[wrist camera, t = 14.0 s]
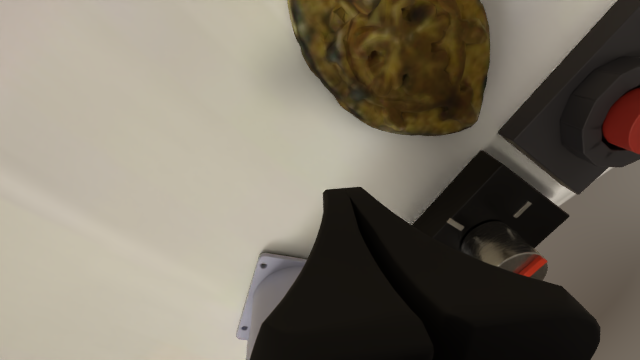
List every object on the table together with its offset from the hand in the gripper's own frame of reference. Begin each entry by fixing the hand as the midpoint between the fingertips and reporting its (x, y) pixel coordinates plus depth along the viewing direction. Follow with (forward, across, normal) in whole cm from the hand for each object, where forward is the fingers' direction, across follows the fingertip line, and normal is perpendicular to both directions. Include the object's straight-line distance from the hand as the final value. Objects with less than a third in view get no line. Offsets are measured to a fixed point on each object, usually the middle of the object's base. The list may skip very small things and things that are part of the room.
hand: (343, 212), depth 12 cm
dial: (+8, -12, +9) cm, 17 cm away
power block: (+10, -19, 0) cm, 22 cm away
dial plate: (+10, -12, +9) cm, 18 cm away
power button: (+7, -19, 0) cm, 20 cm away
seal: (+11, -5, -4) cm, 13 cm away
